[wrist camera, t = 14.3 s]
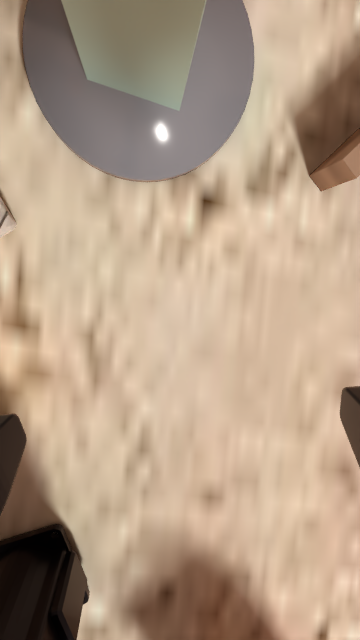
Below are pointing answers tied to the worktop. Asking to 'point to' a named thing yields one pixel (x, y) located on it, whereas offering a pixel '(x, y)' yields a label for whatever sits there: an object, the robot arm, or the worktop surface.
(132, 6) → the block
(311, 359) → the worktop surface
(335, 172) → the walnut bay
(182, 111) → the charcoal pad
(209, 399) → the worktop surface
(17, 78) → the worktop surface
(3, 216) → the packaged product
